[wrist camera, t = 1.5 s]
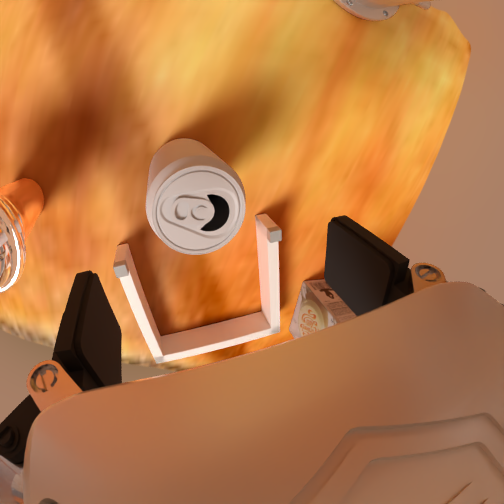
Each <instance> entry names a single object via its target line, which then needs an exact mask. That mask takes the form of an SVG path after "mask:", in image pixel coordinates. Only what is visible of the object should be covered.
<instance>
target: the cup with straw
mask: <svg viewBox="0 0 504 504" xmlns="http://www.w3.org/2000/svg"><path fill="white" fill-rule="evenodd" d="M43 206H44V196H43V192H42V190H41V188H40V186H39V185H38V184H37V183H36V182H35V181H34V180H32V179H28V178H23V179H20V180H18V181H15V182H12V183H10V184H7V185H5V186H3V187H0V293H3V292H5V291H7V290H9V289H10V288H11V287H12V286H13V285H14V284H15V283H16V282H17V281H18V280H19V278H20V277H21V275H22V273H23V270H24V268H25V261H26V246H25V241H26V239H27V237H28V236H29V234H30V232H31V230H32V228H33V226H34V224H35V222H36V220H37V219H38V217H39V215H40V213H41V211H42V209H43Z"/></svg>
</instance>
